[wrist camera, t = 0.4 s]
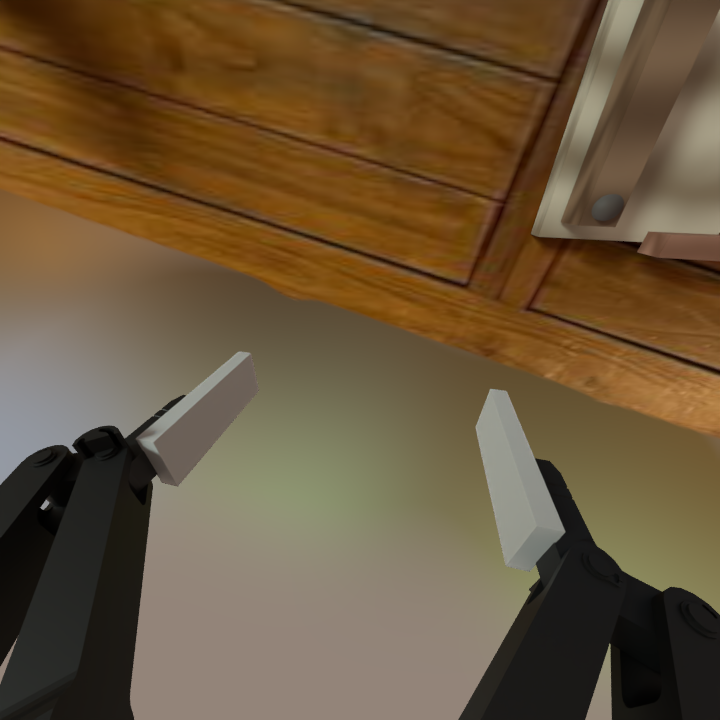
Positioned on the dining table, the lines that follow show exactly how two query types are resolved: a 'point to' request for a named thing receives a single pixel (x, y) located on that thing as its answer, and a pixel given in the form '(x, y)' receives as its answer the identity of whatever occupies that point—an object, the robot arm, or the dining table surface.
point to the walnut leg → (638, 106)
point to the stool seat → (666, 162)
